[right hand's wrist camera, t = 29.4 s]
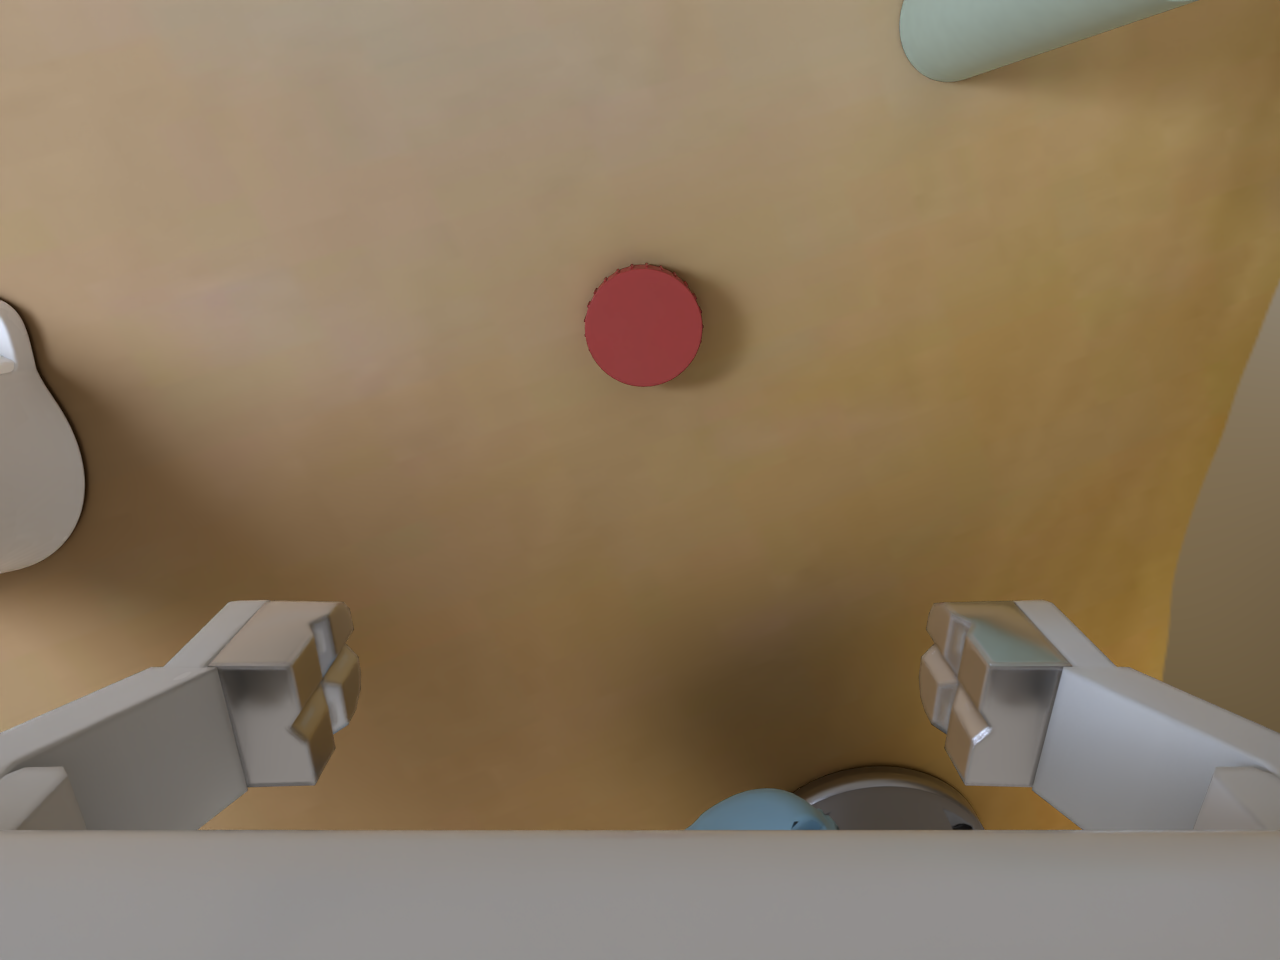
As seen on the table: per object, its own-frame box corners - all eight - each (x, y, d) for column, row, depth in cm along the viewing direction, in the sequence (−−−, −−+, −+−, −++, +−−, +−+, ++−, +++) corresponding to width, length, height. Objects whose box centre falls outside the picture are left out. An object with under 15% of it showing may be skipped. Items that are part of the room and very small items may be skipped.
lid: (651, 400, 38) (652, 411, 36) (563, 331, 36) (559, 338, 34) (724, 313, 36) (728, 320, 34) (634, 237, 35) (634, 240, 33)
